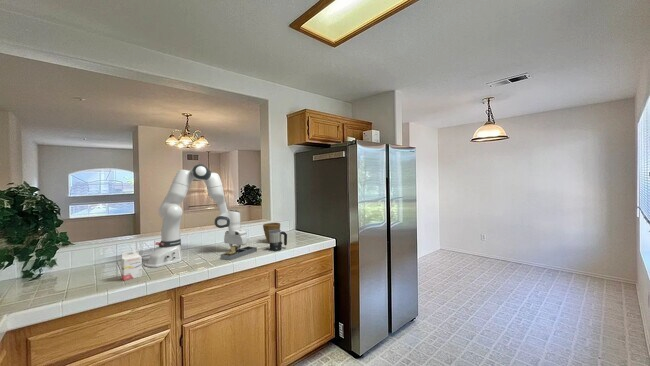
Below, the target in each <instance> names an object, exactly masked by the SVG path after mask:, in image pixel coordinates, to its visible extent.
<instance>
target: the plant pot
mask: <svg viewBox="0 0 650 366" xmlns="http://www.w3.org/2000/svg"><path fill="white" fill-rule="evenodd" d="M262 229H263V233H264V237H265V238H266V239H265V240H266V241H267V243H268V244H270V240H269V231H270V230H281V223H280V222H269V223H263V224H262Z"/></svg>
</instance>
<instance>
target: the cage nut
mask: <svg viewBox="0 0 650 366" xmlns="http://www.w3.org/2000/svg"><path fill="white" fill-rule="evenodd" d="M237 248H238V245H236V244H233V246H231V247H230V250H237Z"/></svg>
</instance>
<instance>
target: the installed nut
mask: <svg viewBox="0 0 650 366" xmlns="http://www.w3.org/2000/svg"><path fill="white" fill-rule="evenodd" d="M224 253H226V255H233V254H236V251H234V250H231V249H230V250H227V251H225V252H224Z"/></svg>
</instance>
